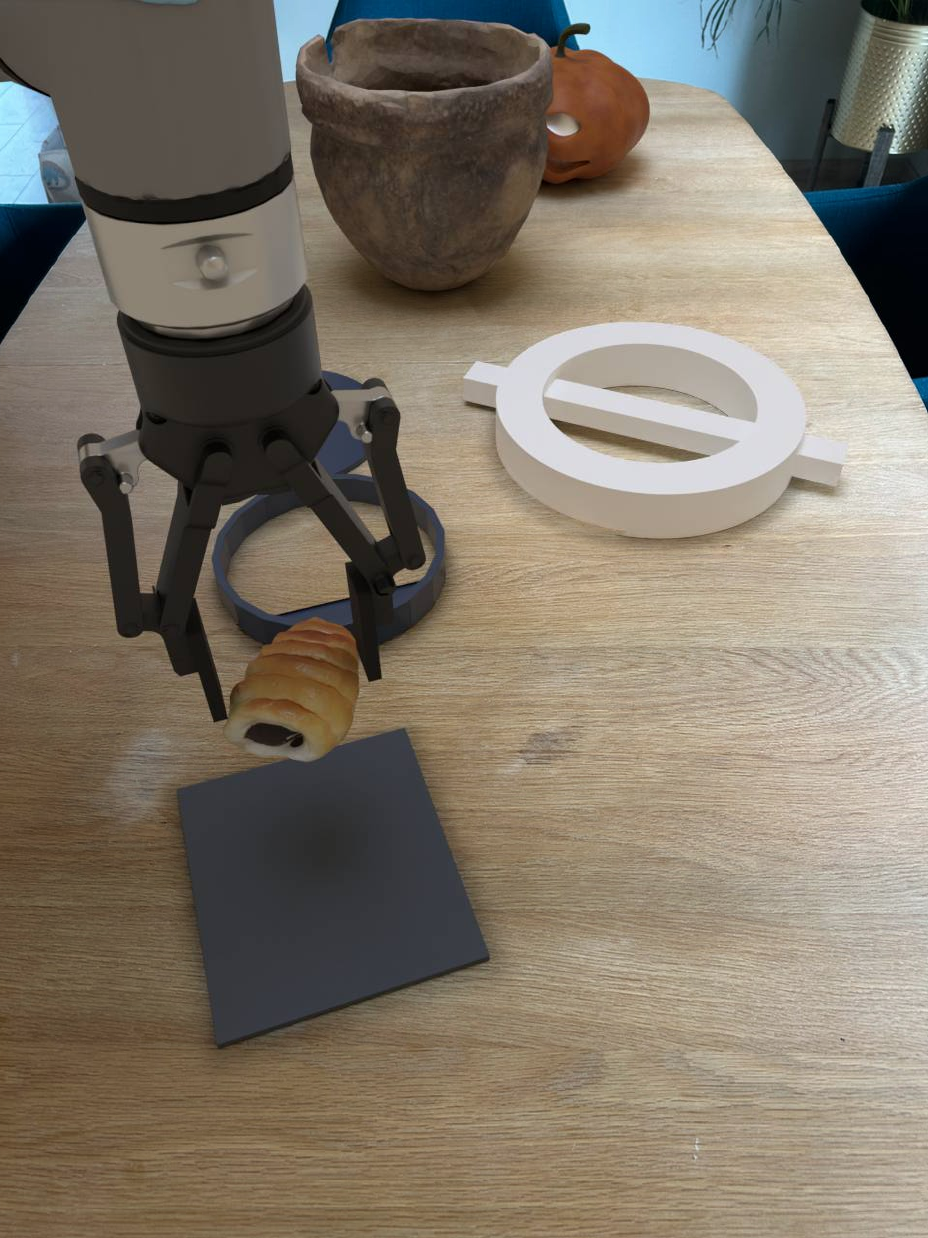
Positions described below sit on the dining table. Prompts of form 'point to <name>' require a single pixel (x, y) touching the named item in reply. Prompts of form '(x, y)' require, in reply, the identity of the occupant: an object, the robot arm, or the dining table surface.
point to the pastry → (297, 694)
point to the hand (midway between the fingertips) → (294, 682)
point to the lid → (341, 435)
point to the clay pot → (428, 141)
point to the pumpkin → (591, 112)
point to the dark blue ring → (407, 600)
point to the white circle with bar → (652, 428)
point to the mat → (322, 885)
